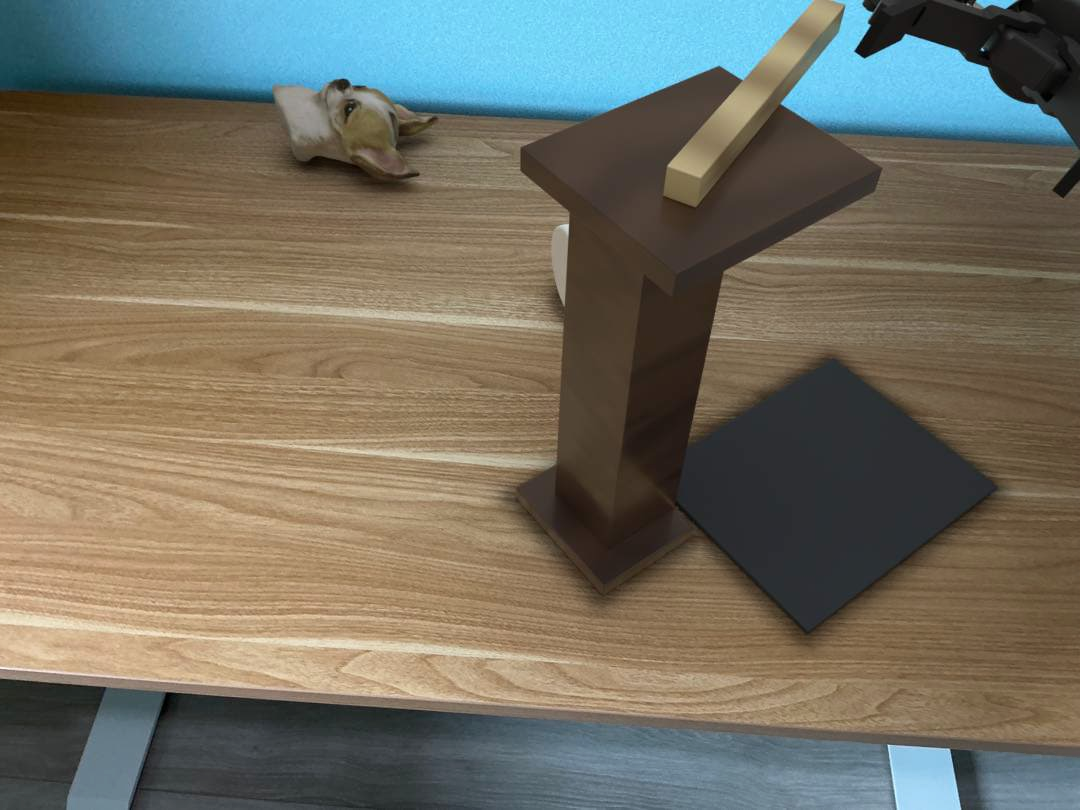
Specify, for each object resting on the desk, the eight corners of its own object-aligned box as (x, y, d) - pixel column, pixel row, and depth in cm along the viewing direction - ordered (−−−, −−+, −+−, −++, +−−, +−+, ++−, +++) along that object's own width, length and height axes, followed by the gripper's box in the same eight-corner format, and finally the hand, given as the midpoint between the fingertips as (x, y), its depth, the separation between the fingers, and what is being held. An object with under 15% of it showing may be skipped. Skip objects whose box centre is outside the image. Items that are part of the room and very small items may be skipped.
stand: (772, 499, 72) (883, 167, 50) (612, 607, 66) (660, 282, 44) (662, 398, 78) (719, 65, 56) (506, 488, 72) (503, 153, 50)
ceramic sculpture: (286, 40, 95) (440, 62, 95) (296, 118, 102) (440, 139, 102) (251, 101, 88) (417, 125, 88) (264, 181, 95) (418, 203, 95)
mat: (996, 489, 73) (998, 485, 72) (807, 634, 64) (808, 631, 64) (832, 360, 81) (833, 357, 81) (646, 475, 73) (646, 471, 72)
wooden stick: (810, 24, 60) (817, -5, 58) (838, 33, 59) (846, 3, 58) (662, 196, 48) (666, 165, 47) (695, 208, 48) (701, 177, 46)
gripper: (1167, 187, 70) (1113, 289, 55) (880, -8, 75) (761, 37, 61) (1257, 96, 65) (1225, 181, 50) (943, -106, 70) (829, -83, 56)
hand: (970, 102), depth 55 cm, fingers open, 13 cm apart
